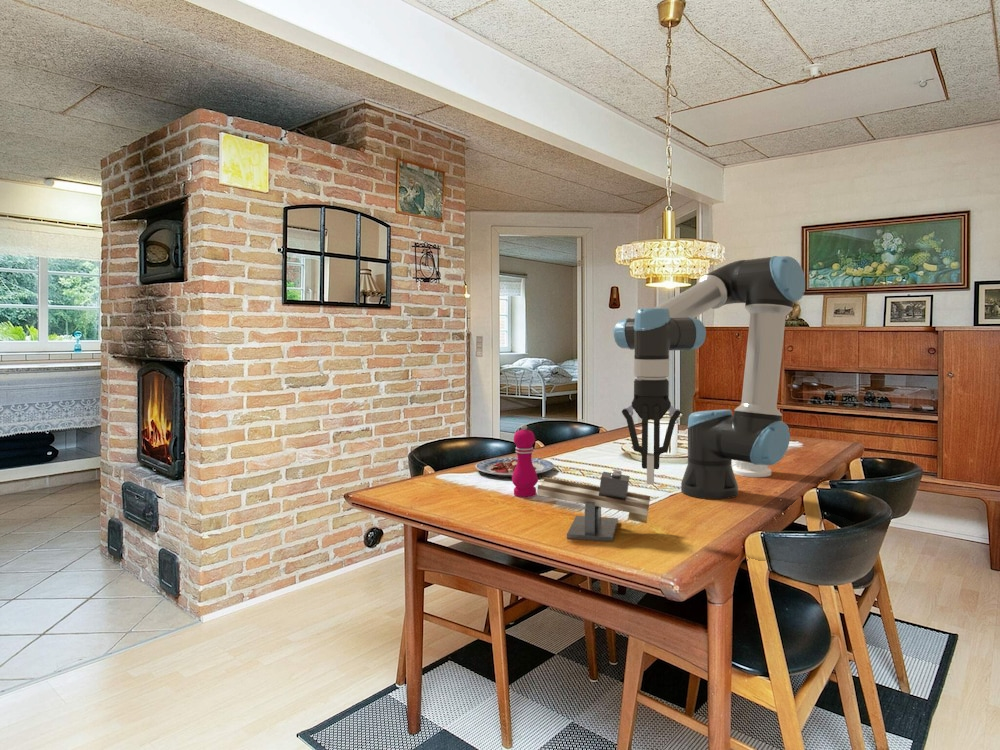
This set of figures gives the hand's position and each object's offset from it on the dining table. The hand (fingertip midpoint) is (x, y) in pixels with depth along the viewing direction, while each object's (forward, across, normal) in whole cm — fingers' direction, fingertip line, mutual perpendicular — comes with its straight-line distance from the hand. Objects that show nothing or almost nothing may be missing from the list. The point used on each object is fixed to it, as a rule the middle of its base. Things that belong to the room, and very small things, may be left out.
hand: (650, 482), depth 142 cm
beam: (+7, +13, 0) cm, 15 cm away
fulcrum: (+12, +13, 0) cm, 17 cm away
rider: (+4, +8, 0) cm, 9 cm away
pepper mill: (+12, +35, -27) cm, 46 cm away
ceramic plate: (+12, +45, -55) cm, 73 cm away
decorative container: (+11, -29, -67) cm, 74 cm away
